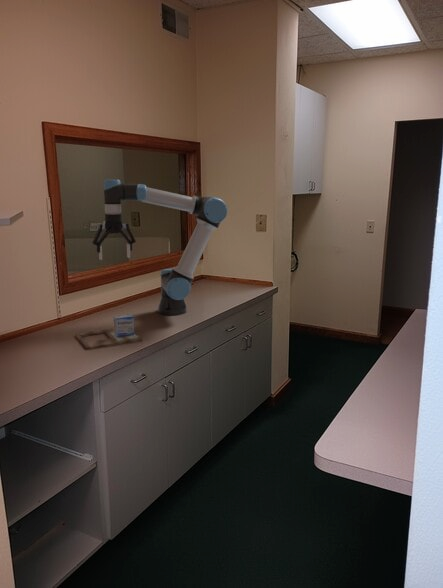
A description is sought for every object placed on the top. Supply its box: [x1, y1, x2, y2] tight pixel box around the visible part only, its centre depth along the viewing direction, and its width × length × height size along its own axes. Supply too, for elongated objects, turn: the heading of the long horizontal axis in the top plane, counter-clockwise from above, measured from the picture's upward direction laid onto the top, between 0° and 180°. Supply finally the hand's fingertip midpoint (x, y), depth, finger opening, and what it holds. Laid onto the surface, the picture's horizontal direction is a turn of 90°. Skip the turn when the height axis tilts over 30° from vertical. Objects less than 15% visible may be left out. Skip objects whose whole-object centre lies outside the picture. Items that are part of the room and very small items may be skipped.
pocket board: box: [75, 327, 143, 351], centre depth 207 cm, size 24×20×1 cm
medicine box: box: [113, 314, 135, 337], centre depth 207 cm, size 8×4×9 cm, turn 118°
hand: (115, 258), depth 223 cm, fingers open, 13 cm apart
